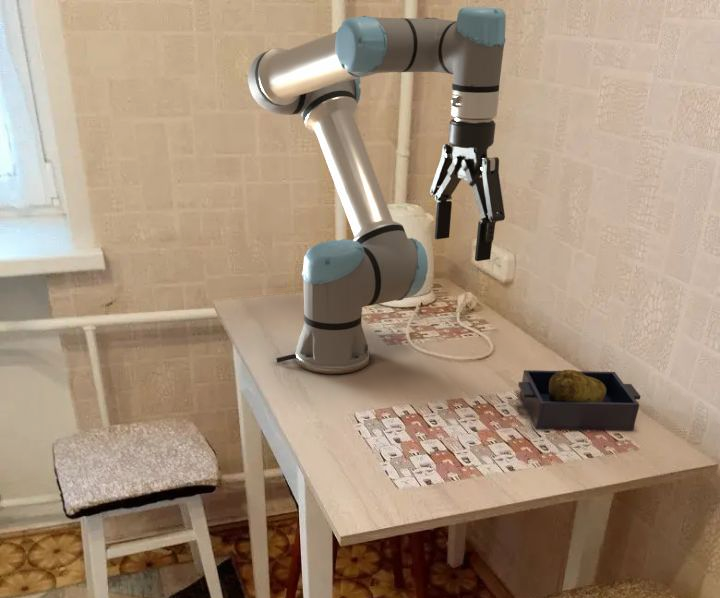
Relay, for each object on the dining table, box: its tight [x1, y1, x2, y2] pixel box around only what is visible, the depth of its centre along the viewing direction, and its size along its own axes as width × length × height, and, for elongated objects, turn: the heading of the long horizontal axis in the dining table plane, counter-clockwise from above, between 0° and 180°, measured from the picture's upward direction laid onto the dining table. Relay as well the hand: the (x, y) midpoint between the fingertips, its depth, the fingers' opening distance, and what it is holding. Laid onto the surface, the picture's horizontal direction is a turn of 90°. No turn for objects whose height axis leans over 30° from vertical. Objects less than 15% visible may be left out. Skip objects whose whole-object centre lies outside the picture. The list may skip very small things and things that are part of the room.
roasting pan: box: [519, 369, 640, 431], centre depth 135 cm, size 17×14×5 cm
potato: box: [549, 369, 606, 402], centre depth 133 cm, size 8×13×8 cm, turn 105°
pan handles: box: [517, 381, 641, 401], centre depth 134 cm, size 21×5×1 cm, turn 91°
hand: (461, 248), depth 133 cm, fingers open, 13 cm apart
